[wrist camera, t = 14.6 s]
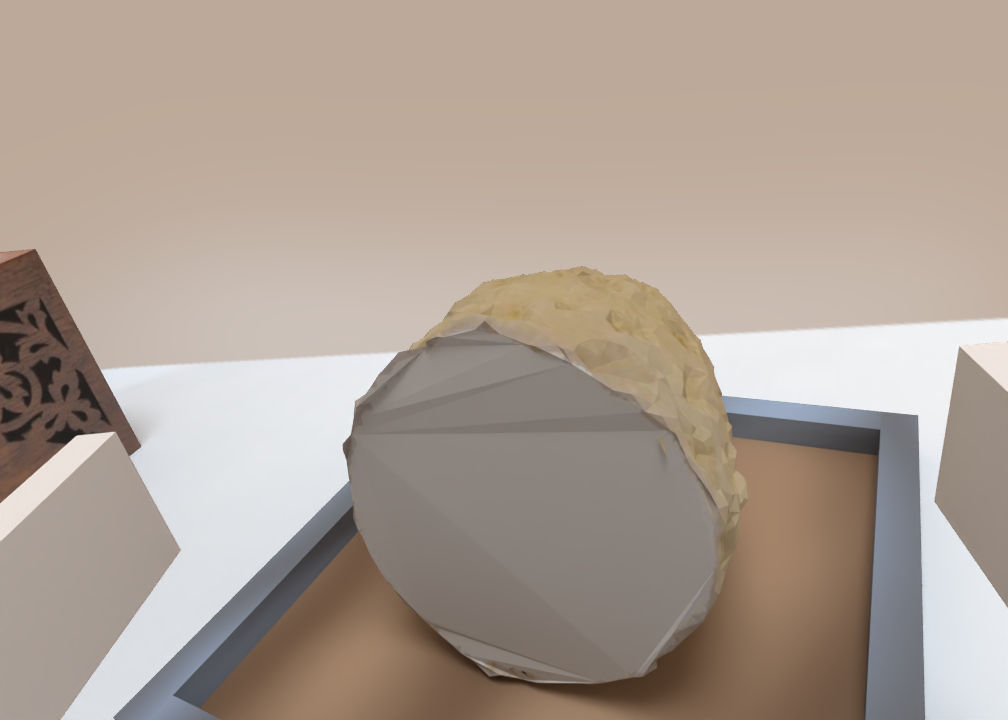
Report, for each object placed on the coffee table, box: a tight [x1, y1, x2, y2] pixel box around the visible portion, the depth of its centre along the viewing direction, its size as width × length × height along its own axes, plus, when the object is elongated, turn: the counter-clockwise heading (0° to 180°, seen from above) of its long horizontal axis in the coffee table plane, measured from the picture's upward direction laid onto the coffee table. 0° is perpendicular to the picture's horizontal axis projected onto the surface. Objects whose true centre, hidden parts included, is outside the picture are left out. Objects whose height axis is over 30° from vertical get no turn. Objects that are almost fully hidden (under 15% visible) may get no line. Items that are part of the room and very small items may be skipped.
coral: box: [343, 266, 749, 684], centre depth 17 cm, size 10×10×10 cm
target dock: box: [113, 396, 925, 720], centre depth 19 cm, size 17×17×1 cm
